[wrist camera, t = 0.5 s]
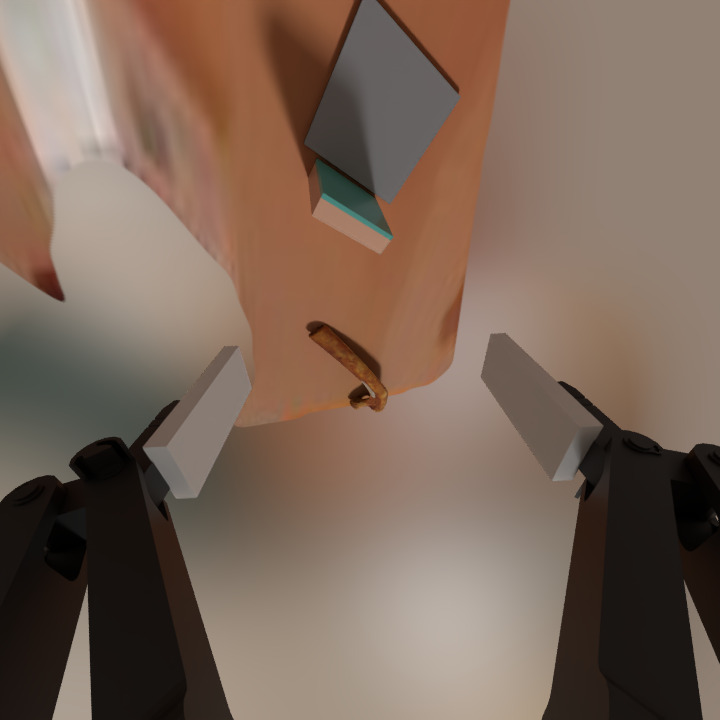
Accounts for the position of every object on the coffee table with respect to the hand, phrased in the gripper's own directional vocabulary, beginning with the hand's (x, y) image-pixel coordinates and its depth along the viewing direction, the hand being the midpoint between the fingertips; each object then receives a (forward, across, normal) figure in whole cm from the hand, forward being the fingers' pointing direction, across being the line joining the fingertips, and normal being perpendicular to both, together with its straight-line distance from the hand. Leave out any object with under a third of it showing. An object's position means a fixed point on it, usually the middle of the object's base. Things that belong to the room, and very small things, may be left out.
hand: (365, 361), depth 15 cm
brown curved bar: (+44, -2, -29) cm, 53 cm away
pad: (+29, +3, +15) cm, 33 cm away
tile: (+31, -2, +8) cm, 32 cm away
